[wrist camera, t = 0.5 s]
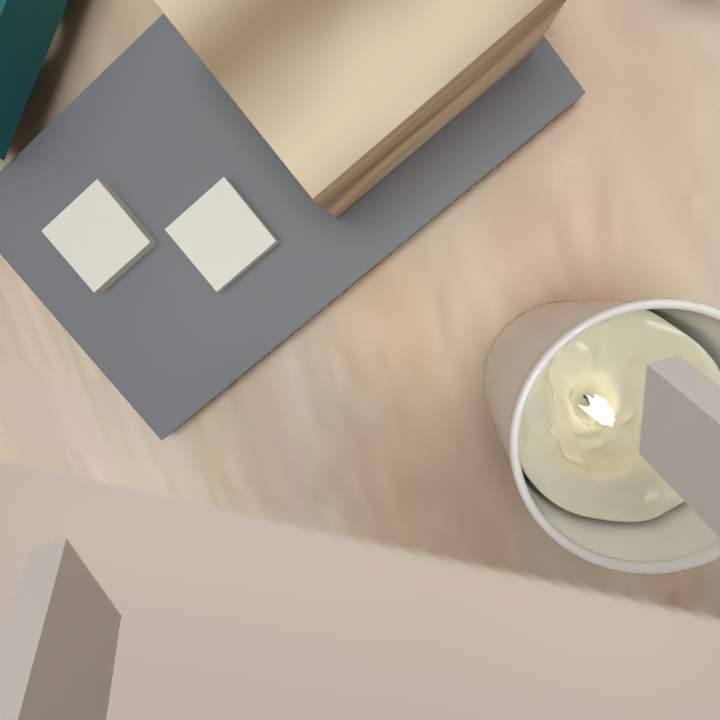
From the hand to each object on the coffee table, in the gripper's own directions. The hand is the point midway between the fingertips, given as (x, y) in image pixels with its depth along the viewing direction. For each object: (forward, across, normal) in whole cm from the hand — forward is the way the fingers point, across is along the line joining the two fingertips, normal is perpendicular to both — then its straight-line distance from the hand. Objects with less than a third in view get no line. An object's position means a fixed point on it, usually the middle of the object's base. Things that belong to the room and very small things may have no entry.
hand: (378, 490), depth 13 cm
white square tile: (+22, +9, -1) cm, 24 cm away
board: (+23, 0, -2) cm, 23 cm away
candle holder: (+15, -12, +11) cm, 22 cm away
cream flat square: (+20, +3, 0) cm, 21 cm away
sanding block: (+22, -6, -6) cm, 23 cm away
